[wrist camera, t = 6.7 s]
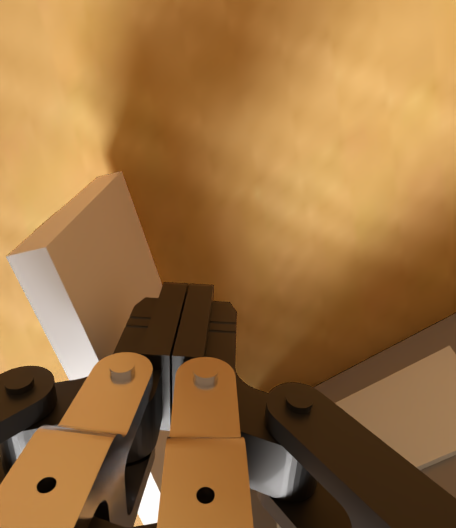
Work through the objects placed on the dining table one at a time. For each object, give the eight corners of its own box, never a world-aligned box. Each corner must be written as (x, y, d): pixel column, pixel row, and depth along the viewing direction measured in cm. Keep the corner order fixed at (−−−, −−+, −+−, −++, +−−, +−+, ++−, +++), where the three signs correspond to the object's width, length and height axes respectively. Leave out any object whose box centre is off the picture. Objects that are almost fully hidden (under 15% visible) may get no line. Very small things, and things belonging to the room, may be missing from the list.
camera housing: (625, 407, 22) (850, 611, 14) (319, 533, 26) (355, 739, 18) (557, 255, 18) (804, 411, 10) (219, 432, 23) (210, 632, 15)
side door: (126, 167, 17) (39, 257, 9) (219, 434, 23) (211, 618, 15) (83, 178, 17) (-37, 274, 10) (186, 440, 23) (162, 623, 16)
